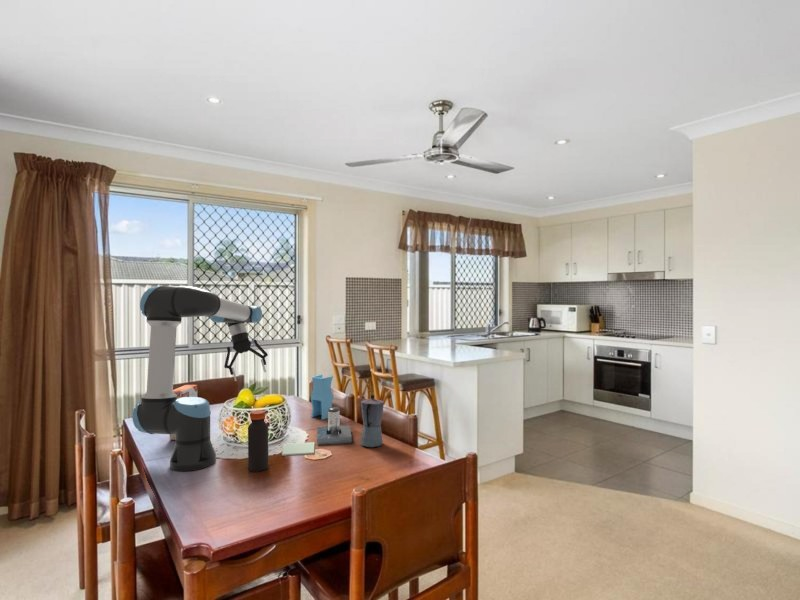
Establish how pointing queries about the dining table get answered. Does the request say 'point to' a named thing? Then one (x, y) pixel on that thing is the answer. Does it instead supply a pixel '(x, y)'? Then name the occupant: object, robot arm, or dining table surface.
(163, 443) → the dining table surface
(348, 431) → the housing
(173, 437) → the cracker box
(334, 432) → the silver canister
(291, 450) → the mat
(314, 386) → the blue notched block
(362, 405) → the moka pot
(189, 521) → the dining table surface
